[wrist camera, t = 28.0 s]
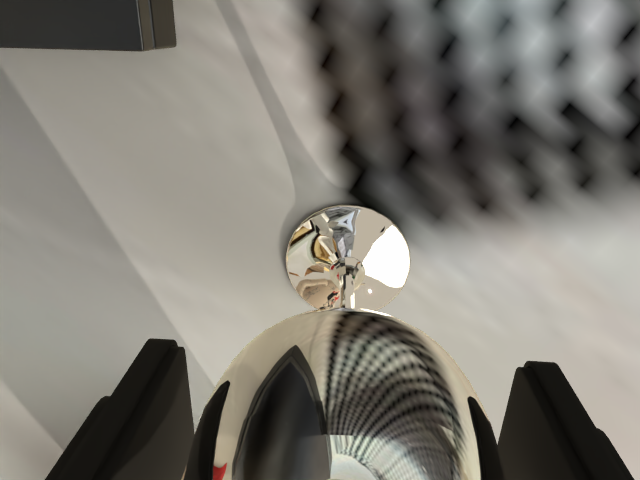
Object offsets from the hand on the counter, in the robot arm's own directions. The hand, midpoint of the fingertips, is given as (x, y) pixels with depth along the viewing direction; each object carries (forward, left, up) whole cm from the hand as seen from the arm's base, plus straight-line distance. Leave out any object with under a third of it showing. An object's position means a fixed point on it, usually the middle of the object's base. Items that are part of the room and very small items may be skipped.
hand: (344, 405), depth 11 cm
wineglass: (0, 0, -7) cm, 7 cm away
